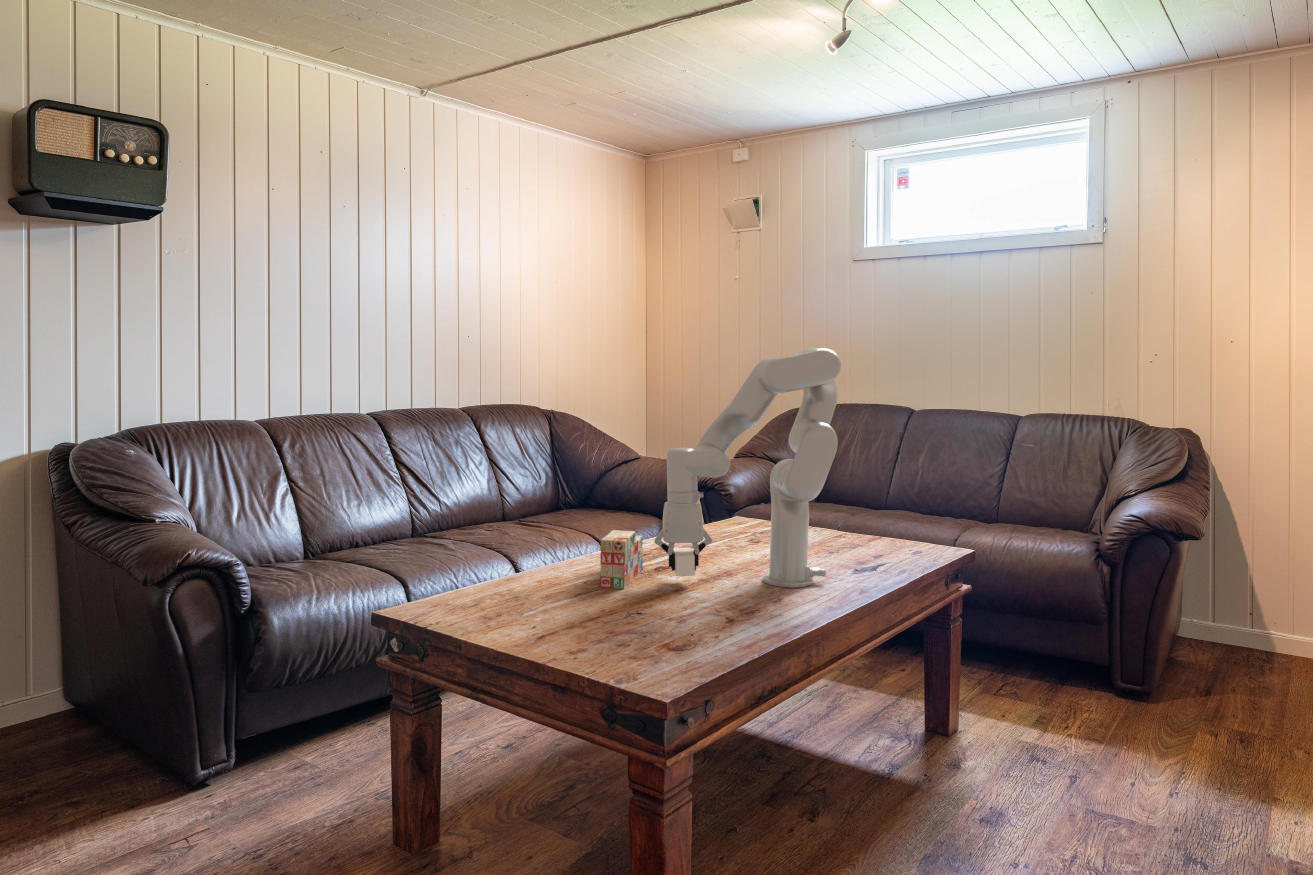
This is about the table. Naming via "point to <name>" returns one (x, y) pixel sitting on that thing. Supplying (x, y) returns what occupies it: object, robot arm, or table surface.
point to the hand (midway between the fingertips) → (683, 568)
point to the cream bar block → (684, 562)
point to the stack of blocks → (620, 559)
